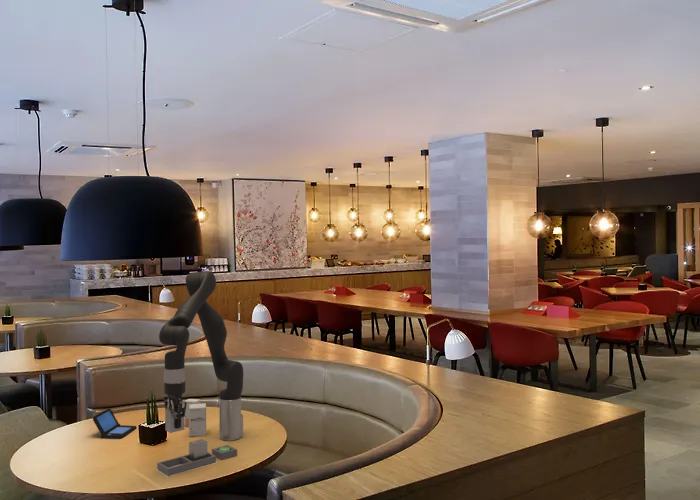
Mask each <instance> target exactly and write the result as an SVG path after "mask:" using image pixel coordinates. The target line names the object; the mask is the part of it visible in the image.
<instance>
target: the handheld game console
mask: <svg viewBox="0 0 700 500" xmlns="http://www.w3.org/2000/svg"><path fill="white" fill-rule="evenodd" d="M92 420H93V423H94V424H95V426H96V428H97V430H98V431H99V433H100V434H101V435H100V438H101V439H114V440H115V439H116V440H117V439H119V440H120V439H123V438H124V437H126V436H128V435H129V434H131V433H132V432H133V431H135V430H136V429H137V425H124V424H123V425H121V424H120V423H119V421H118V420H117V418H116V416H115V414H114V413H113V411H112V409H111V408H107V409H105V410H104V411H102V412H100V413H98V414H96V415H94V416H93V417H92Z"/></svg>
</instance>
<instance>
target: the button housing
mask: <svg viewBox="0 0 700 500" xmlns="http://www.w3.org/2000/svg"><path fill="white" fill-rule="evenodd" d="M221 447H229V448H230V450H228V451H225V452H221V451H219V449H220V448H221ZM211 454H213V455H215V456H216V459H218V460H220V461H224V460H228V459H230V458H235V457H237V456H238V449H237V448H235V447H233V446H230V445H228V444H226V445H222V446H218V447H214V448H211Z"/></svg>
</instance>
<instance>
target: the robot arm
mask: <svg viewBox="0 0 700 500" xmlns="http://www.w3.org/2000/svg"><path fill="white" fill-rule="evenodd" d="M185 286H186V290H187V292H188V294H189V297H188V298H187V299H185V300H184V301H183V302H181V304H180V305H179V307H178V308H177V310H176V311H175V314H174V315H173V316H172V317H171V318H170V319H169V320H168V321H167V322H166V323H165V324H164V325H163V326H162V327H161V328H160V330H159V334H158V338H159V342H160V343H161V344H162V345H165V346H176V349H175V350H172V351H171V350H170V351H168V352H166V353H165V354H164V373H163V393H164V394H165V396H163V403H164V409H166V408H172V410H173V412H174V415H175V428H176V429H178V428H181V418H182V417H184V418H185V411H186V405H187V403H186V402H185V401H183V394H184V393H185V392H186V369H185V368H186V367H185V355H186V352H187V347H188V343H189V339H190V332H189V329H188V328H190V327H191V325H192V323H193V321H194V319H195V317H196V315H197V316H198V320H199V323H200V325H201V326H200V327H201V329H202V332H203V334H204V338H205V340H206V342H207V346H208V349H209V353H210V357H211V362H212V364H213V369H214V370H213V371H214V374H215V376H216V378H217V379H218V380H219V381H221V382H225V383H226V388H224V389H222V390H220V391H219V394H218V395H219V396H218V397H219V399H218V400H219V401H218V402H219V403H218V405H219V409H218V410H219V412H218V414H219V420H218V421H219V439H220V440H222V441H229V442H230V441H235V440H239V439H241V438H243V437H244V414H243V413H242V393H243V388H244V367H243V363H241V362H240V361H237V360H230V359H228V357H227V354H226V350H225V345H226V341H227V340H226V339H227V337H228V336H227V335H228V331H227V328H226V324H225V320H224V318H223V316H221V314H220V312H218V311H217V310H216V309H214V307H212V306H211V305H210V304H209V303H208V299H209V297H210V296H211V295H212V294H213V293H214V290H215V289H216V286H217V279H216V276H215V274H214V273H213V272H212V271H210V270H203V271H197V272H196V271H195V272H190V273H188V274H187V275H186V277H185ZM177 408H178V409H177ZM176 409H177V410H176ZM177 412H178V413H177Z"/></svg>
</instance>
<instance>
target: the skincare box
mask: <svg viewBox="0 0 700 500" xmlns="http://www.w3.org/2000/svg"><path fill="white" fill-rule="evenodd" d="M184 402H186V403H187V405H186V411H185V416H184V428H185V427H188V428H189V404H201V399H198V398H188V399H185V400H184Z"/></svg>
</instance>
